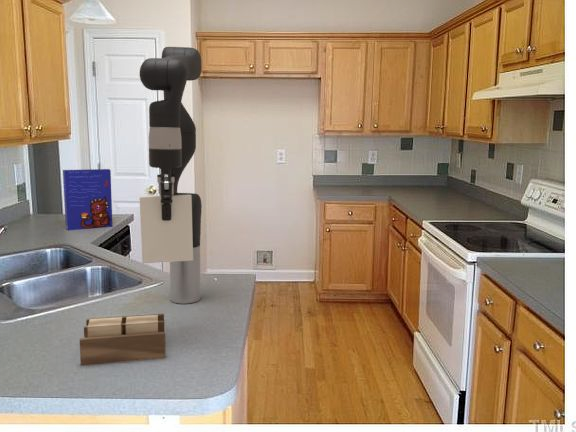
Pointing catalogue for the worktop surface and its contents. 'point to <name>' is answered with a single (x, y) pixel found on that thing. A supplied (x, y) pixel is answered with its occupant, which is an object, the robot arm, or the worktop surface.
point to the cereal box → (87, 198)
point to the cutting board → (166, 230)
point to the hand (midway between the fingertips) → (166, 218)
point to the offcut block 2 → (142, 324)
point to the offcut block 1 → (105, 327)
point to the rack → (123, 345)
